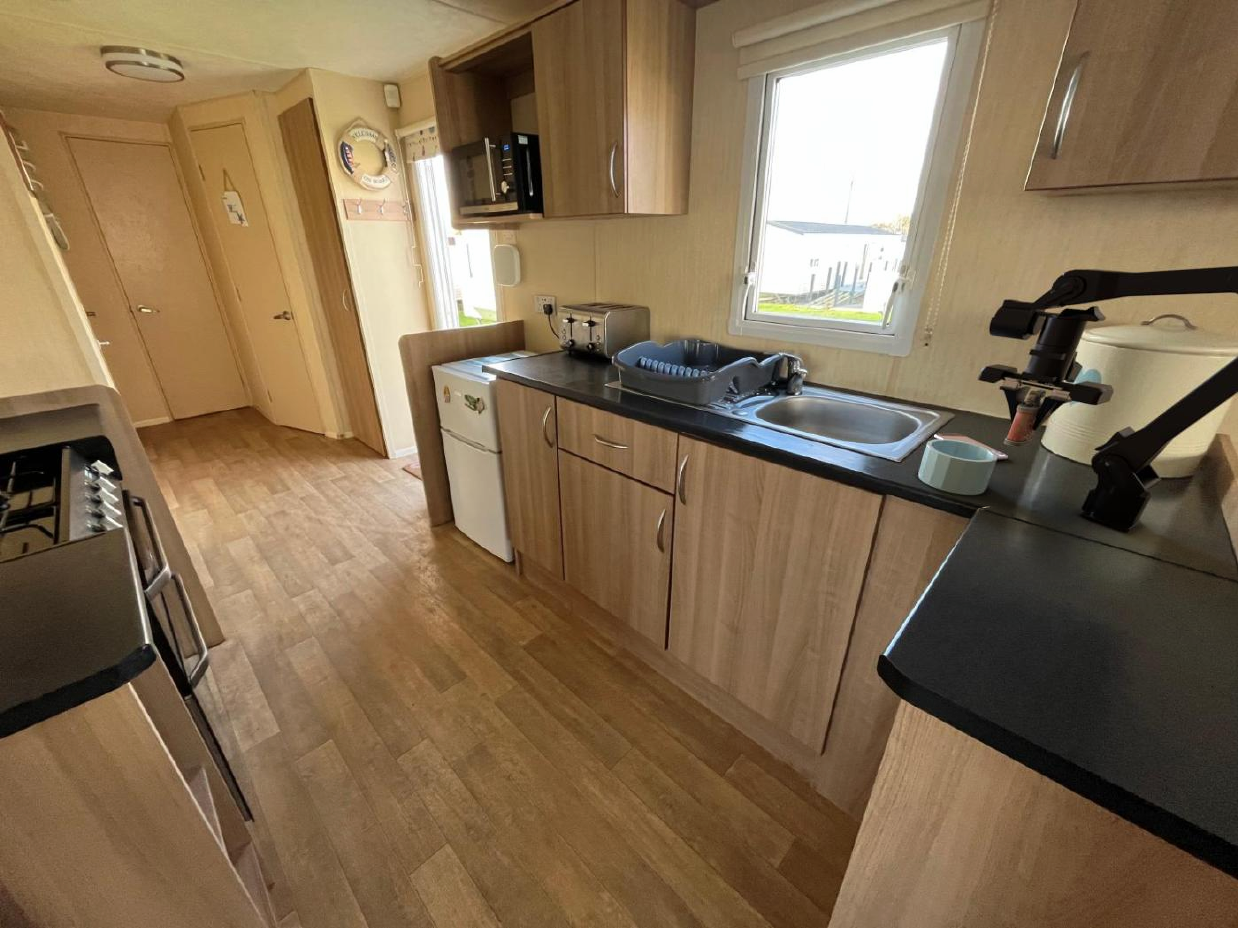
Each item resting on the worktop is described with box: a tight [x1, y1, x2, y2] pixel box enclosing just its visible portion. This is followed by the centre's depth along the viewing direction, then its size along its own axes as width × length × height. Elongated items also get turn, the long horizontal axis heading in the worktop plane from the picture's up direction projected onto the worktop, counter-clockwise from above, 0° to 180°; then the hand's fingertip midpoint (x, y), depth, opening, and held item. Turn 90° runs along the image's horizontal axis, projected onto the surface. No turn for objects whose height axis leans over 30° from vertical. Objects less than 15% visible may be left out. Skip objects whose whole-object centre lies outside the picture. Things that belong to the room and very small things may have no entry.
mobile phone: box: [933, 432, 1009, 461], centre depth 115 cm, size 8×1×15 cm
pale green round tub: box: [917, 438, 998, 496], centre depth 97 cm, size 12×12×7 cm
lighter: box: [1003, 389, 1047, 448], centre depth 92 cm, size 8×3×10 cm, turn 124°
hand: (1024, 427), depth 93 cm, fingers closed on lighter, 3 cm apart
